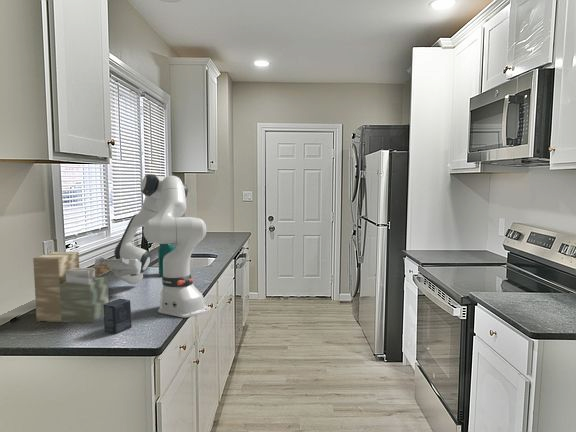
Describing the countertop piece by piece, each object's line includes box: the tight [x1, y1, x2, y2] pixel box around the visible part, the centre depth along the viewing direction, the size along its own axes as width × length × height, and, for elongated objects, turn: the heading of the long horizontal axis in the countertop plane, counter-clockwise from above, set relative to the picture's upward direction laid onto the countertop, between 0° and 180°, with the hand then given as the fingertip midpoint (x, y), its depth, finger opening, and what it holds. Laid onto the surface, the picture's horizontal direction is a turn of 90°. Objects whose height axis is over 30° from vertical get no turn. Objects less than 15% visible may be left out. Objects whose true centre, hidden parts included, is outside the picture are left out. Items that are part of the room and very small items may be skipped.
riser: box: [32, 251, 110, 324], centre depth 171 cm, size 14×22×25 cm, turn 86°
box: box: [103, 298, 132, 335], centre depth 156 cm, size 8×6×11 cm
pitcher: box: [157, 243, 177, 278], centre depth 241 cm, size 10×8×22 cm
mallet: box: [66, 264, 111, 284], centre depth 176 cm, size 23×9×5 cm, turn 177°
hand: (110, 259), depth 192 cm, fingers open, 8 cm apart
